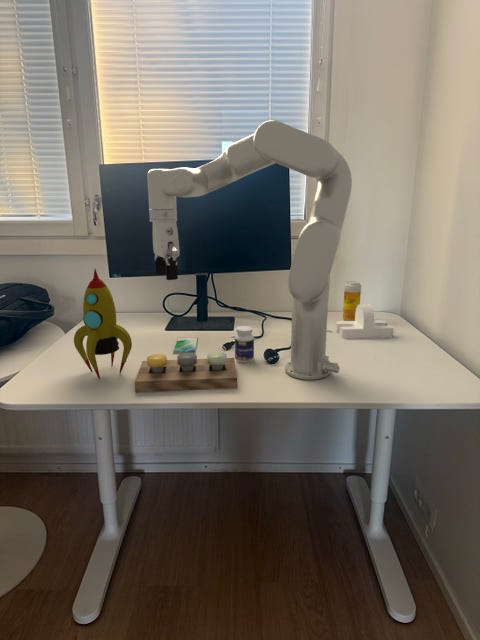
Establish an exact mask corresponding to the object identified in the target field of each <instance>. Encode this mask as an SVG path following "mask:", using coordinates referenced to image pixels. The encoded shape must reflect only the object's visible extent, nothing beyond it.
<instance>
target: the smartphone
mask: <svg viewBox="0 0 480 640" xmlns="http://www.w3.org/2000/svg"><path fill="white" fill-rule="evenodd" d="M198 343H199V338H198V337H177V339H176V342H175V345H174V348H173V351H172V354H173V355H180V354H183V353H193V354H197V349H198Z"/></svg>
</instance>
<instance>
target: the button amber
mask: <svg viewBox="0 0 480 640" xmlns="http://www.w3.org/2000/svg"><path fill="white" fill-rule="evenodd" d="M167 358H168V356H167V355H166V354H164V353H163V354H162V353H155V354H151V355H148V356H147V357H146V361H147V365H148V366H149V367H152V373H164V372H163V366H165V365H166V364H167V360H168V359H167Z"/></svg>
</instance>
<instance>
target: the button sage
mask: <svg viewBox="0 0 480 640" xmlns="http://www.w3.org/2000/svg"><path fill="white" fill-rule="evenodd" d="M227 358H228V356H227V353H225V352H224V351H223V352H221V351H214V352H210V353H208V354H207V357H206V359H207V362H208V364H211V365H212V371H223V364H225V363H226V362H227Z"/></svg>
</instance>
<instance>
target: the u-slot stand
mask: <svg viewBox="0 0 480 640" xmlns="http://www.w3.org/2000/svg"><path fill="white" fill-rule="evenodd" d="M335 332H336V333H337V334H339V337H340V338H341V339H342V340H343V339H344V340H345V339H348V340H349V339H350V340H351V339H380V338H381V339H385V338H388V339H390V338H391V339H392V338H393V336H394V335H393V334H394V326H393V325H388V321H386V320H384V319H383V320H381V319H380V320H378V319H377V320H375V312H374V308H373V306H372V305H371V304H369V303H368V304H364V303H363V304H361V303H360V305H358V306H357V308H356V313H355V321H344V320H341V321H339V320H338V321H335Z"/></svg>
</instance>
